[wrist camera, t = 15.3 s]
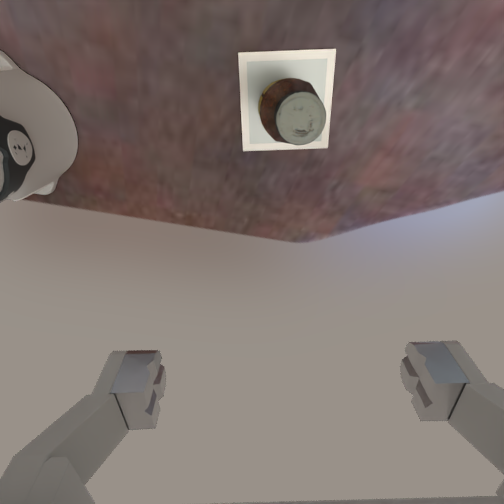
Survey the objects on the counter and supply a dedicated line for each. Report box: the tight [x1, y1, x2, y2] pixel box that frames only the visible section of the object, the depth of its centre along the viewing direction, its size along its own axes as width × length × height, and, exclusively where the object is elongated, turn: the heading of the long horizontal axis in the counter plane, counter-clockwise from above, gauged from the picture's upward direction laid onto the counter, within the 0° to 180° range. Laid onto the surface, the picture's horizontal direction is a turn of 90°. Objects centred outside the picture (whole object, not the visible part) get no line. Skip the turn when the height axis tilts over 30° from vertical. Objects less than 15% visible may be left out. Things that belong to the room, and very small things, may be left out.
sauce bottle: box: [258, 78, 326, 145], centre depth 35 cm, size 6×6×20 cm
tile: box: [238, 49, 336, 151], centre depth 44 cm, size 12×12×1 cm
